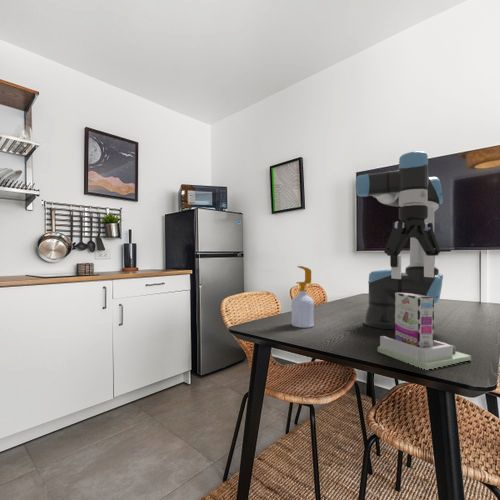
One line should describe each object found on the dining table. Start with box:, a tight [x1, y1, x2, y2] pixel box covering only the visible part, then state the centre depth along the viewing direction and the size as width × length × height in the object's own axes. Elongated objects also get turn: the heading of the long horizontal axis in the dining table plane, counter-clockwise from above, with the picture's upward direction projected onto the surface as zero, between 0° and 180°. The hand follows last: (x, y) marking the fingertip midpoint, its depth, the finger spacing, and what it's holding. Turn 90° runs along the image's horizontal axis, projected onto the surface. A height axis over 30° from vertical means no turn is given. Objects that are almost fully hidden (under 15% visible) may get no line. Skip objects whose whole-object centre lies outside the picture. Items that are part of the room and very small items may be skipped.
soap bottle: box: [291, 265, 315, 329], centre depth 125 cm, size 9×9×25 cm
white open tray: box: [377, 335, 472, 371], centre depth 88 cm, size 18×16×4 cm
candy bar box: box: [394, 293, 435, 348], centre depth 89 cm, size 11×5×16 cm, turn 8°
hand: (413, 278), depth 89 cm, fingers open, 13 cm apart
